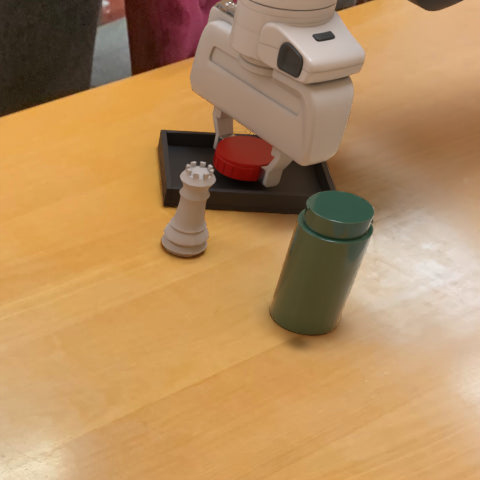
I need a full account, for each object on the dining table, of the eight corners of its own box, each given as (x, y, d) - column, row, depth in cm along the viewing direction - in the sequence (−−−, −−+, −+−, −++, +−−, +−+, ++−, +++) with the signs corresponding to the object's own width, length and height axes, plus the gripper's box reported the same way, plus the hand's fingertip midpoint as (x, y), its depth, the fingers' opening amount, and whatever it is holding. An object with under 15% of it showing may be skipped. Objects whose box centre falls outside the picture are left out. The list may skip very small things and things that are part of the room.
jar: (331, 297, 81) (371, 189, 74) (344, 337, 77) (387, 228, 70) (265, 293, 82) (297, 185, 74) (274, 333, 78) (309, 223, 70)
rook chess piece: (213, 256, 86) (232, 178, 80) (168, 260, 85) (184, 181, 79) (197, 232, 89) (214, 154, 83) (154, 235, 88) (168, 157, 82)
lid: (237, 186, 92) (241, 170, 90) (200, 158, 96) (204, 142, 94) (288, 174, 93) (293, 157, 92) (250, 147, 97) (254, 130, 96)
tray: (312, 155, 100) (317, 137, 98) (333, 216, 91) (339, 198, 89) (157, 146, 101) (160, 129, 99) (163, 206, 92) (166, 188, 90)
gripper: (189, -4, 90) (165, 131, 100) (323, 73, 77) (280, 218, 88) (241, -13, 91) (212, 121, 102) (379, 61, 79) (331, 205, 89)
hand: (244, 167), depth 95 cm, fingers closed on lid, 6 cm apart
